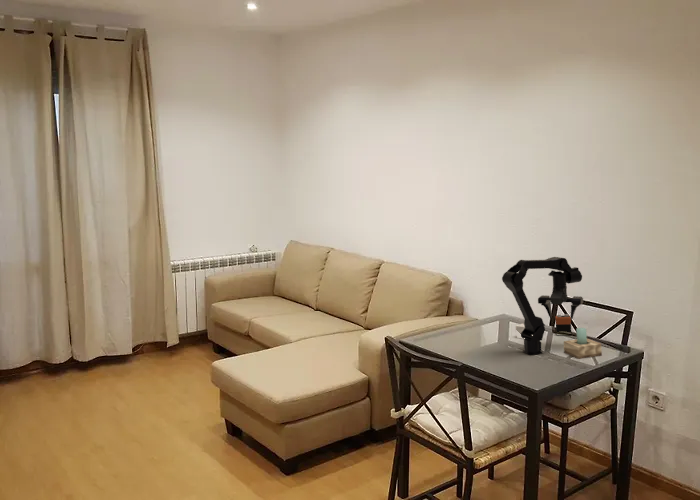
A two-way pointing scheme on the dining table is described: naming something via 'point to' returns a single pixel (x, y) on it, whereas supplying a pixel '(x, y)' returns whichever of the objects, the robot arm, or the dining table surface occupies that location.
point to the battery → (563, 323)
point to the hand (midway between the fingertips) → (561, 318)
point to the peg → (581, 336)
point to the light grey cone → (520, 328)
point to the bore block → (582, 349)
